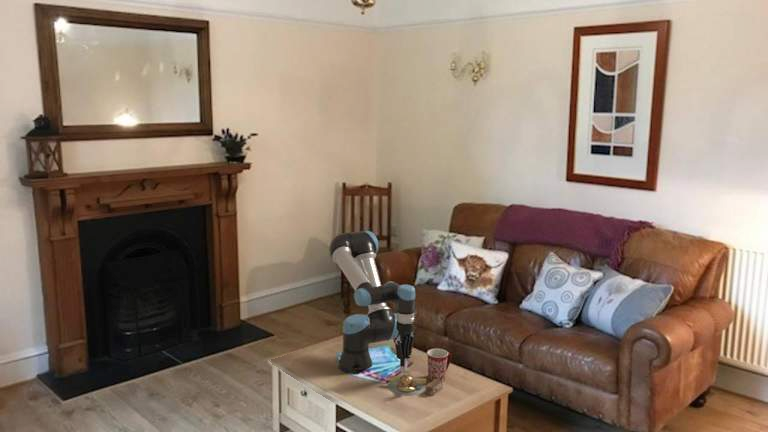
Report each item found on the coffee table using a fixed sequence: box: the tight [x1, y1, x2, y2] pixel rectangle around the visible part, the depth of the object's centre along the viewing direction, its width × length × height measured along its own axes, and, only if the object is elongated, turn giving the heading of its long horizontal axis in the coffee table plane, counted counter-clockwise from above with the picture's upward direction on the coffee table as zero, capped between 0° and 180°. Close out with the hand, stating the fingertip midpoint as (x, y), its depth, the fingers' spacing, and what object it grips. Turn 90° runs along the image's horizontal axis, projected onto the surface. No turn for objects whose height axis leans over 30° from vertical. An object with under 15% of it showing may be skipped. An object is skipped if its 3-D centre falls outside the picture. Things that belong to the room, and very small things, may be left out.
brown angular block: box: [425, 379, 443, 397], centre depth 265 cm, size 4×8×5 cm, turn 142°
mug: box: [426, 348, 452, 383], centre depth 277 cm, size 13×9×14 cm
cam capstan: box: [387, 369, 427, 393], centre depth 268 cm, size 16×16×7 cm
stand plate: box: [387, 381, 426, 397], centre depth 269 cm, size 16×16×2 cm
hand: (403, 372), depth 277 cm, fingers closed
